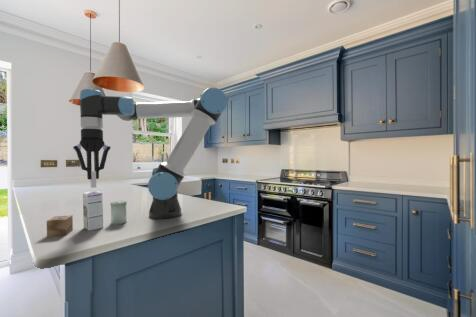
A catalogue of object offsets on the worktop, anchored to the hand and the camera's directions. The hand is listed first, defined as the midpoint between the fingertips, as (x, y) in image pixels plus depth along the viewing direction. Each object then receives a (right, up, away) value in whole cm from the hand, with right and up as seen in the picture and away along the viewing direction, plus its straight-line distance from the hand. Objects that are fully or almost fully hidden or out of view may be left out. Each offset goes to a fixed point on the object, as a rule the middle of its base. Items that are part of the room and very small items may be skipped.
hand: (93, 187), depth 94 cm
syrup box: (0, -17, 0) cm, 17 cm away
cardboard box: (-8, -17, -6) cm, 20 cm away
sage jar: (+6, -16, +8) cm, 19 cm away
